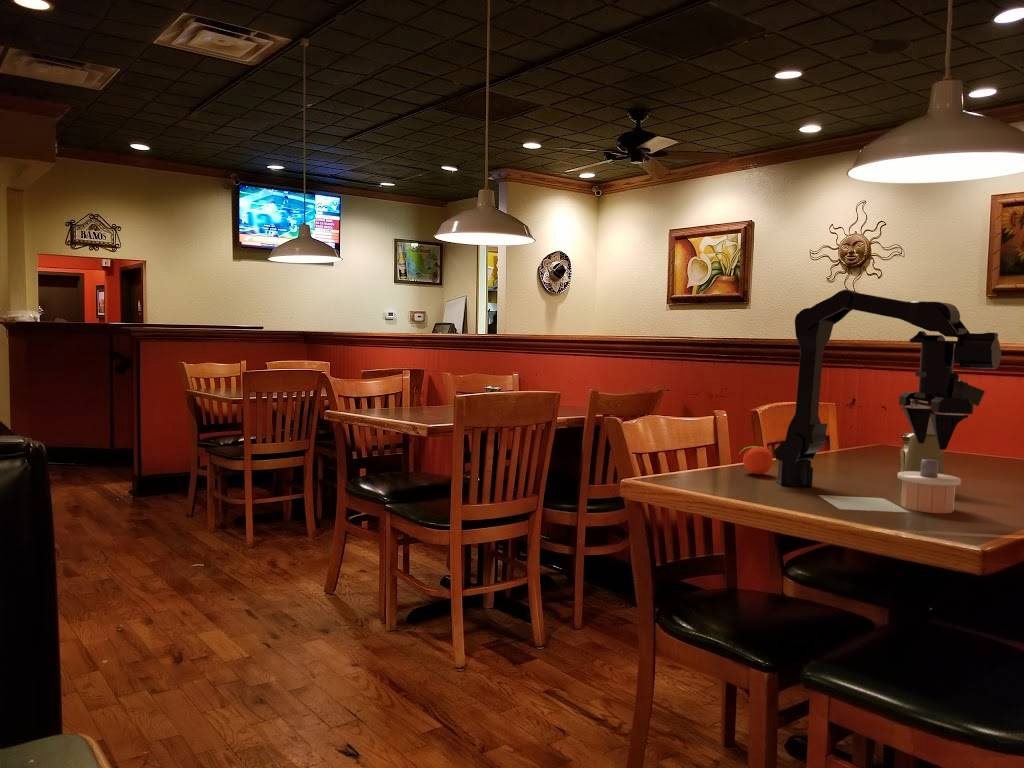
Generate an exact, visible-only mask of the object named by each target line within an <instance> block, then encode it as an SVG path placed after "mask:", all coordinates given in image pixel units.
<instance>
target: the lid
mask: <svg viewBox="0 0 1024 768" xmlns="http://www.w3.org/2000/svg"><path fill="white" fill-rule="evenodd" d="M938 462H939V461H938V460H932V459H921V471H920V472H916V471H899V472H897V479H898V480H901V481H902V480H904V481H908V482H913V483H919V484H927V485H938V486H955V487H956V486H960V485H961V484H962V478H960V477H957V476H955V475H949V474H945V473H944V474H938Z"/></svg>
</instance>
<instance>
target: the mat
mask: <svg viewBox="0 0 1024 768" xmlns="http://www.w3.org/2000/svg"><path fill="white" fill-rule="evenodd" d="M818 496H819V497H820V498H821V499H822V500H825V501H826V502H828V503H829V504H831V505H832V506H834V507H835V508H837V509H838V510H840V511H841V510H842V511H843V510H845V511H864V512H866V511H867V512H883V513H884V512H886V513H888V512H889V513H905V514H906V513H907V514H910V513H911V512H910V511H909V510H907V509H906V508H905V509H904V507H902V506H898V505H897V504H894V503H893V502H891V501H889V500H887V499H886V498H884V497H882V498H881V497H868V496H867V497H863V496H845V495H844V496H840V495H822V494H821V495H818Z"/></svg>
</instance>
